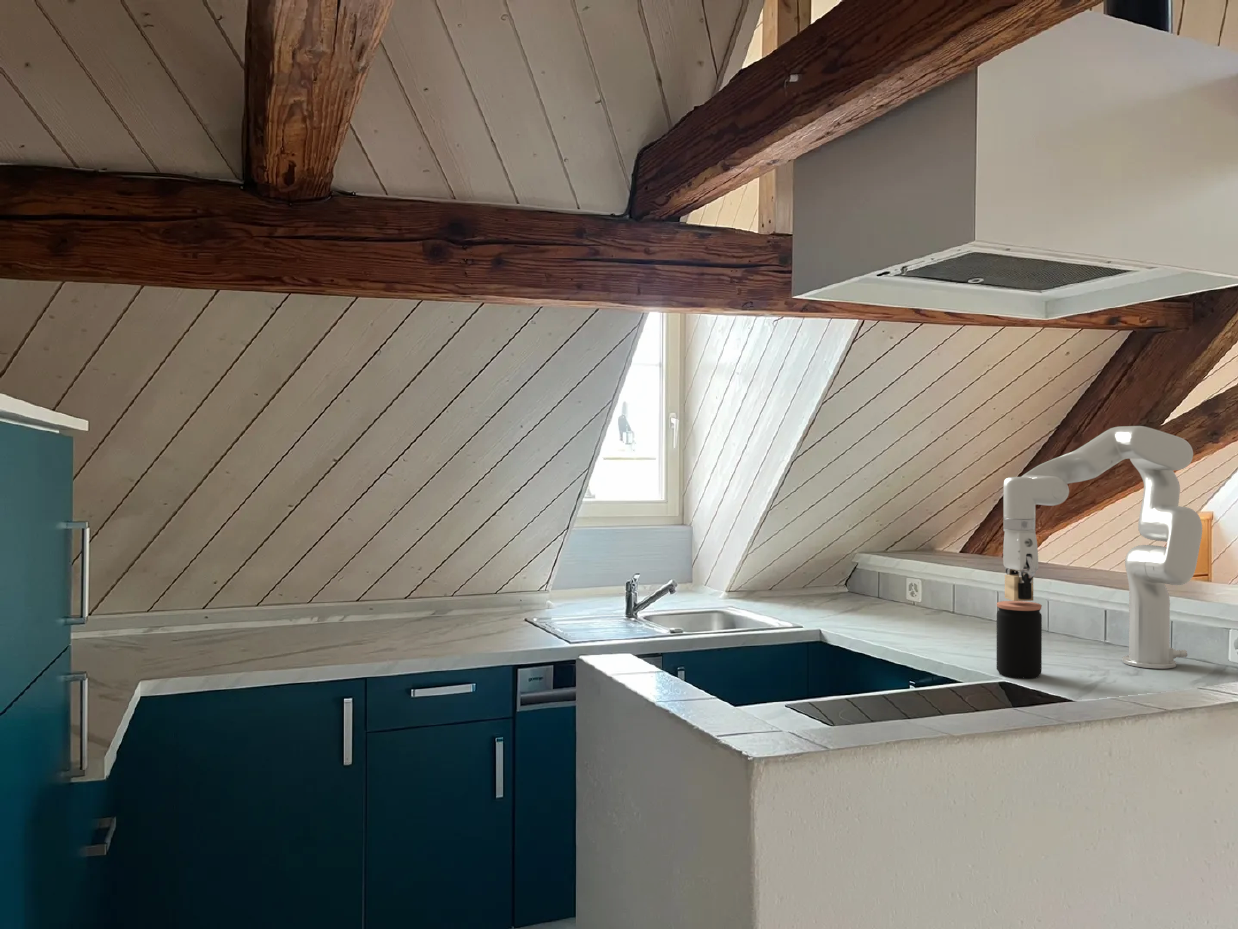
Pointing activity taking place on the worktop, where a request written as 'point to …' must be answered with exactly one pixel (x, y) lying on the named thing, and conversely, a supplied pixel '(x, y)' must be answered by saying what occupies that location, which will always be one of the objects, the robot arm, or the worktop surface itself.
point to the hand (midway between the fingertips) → (1019, 596)
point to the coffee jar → (1019, 639)
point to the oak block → (1014, 588)
